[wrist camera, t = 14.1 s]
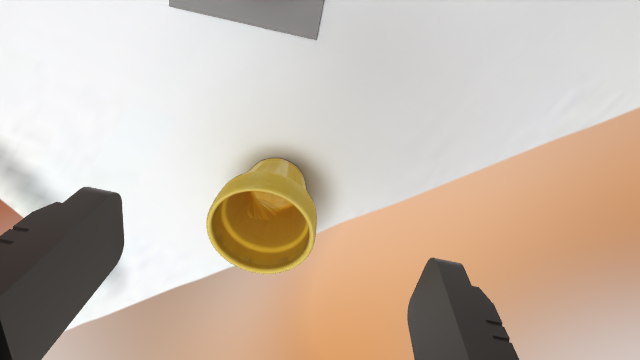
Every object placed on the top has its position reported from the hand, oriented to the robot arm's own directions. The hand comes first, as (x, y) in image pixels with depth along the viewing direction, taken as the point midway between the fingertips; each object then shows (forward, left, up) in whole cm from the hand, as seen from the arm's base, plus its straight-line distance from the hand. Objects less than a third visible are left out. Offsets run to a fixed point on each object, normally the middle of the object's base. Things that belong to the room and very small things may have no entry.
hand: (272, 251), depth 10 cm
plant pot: (+2, +16, -30) cm, 34 cm away
